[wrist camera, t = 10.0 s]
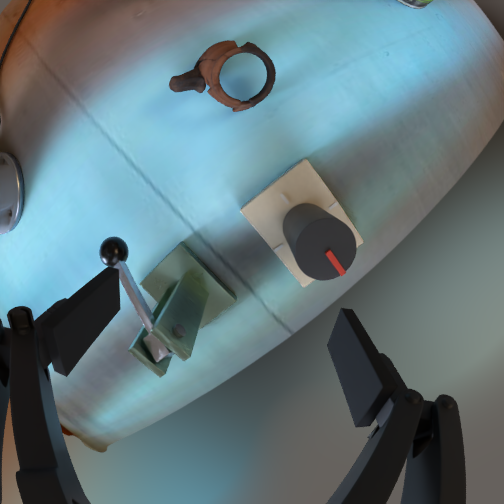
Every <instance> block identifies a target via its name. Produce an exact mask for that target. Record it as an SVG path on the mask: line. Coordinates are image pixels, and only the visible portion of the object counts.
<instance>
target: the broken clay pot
mask: <svg viewBox="0 0 504 504" xmlns="http://www.w3.org/2000/svg"><path fill="white" fill-rule="evenodd" d="M239 53H251V54H254V55H256V56H258V57H259V58H260V59H261V60H262V61H263V62H264V64H265V67H266V70H267V79H266V83H265V85H264V87H263V89H262V90H261V91H260V92H259V93H258V94H257V95H255V96H254V97H252V98H250V99H249V100H248V101H240V100H238V99H234V98H232V97H230V96H229V95H227V94H226V93H225V92H224V90H223V89H222V87H221V84H220V80H219V75H220V71H221V68H222V66H223V64H224V63H225V62H226V60H228V59H229V58H230V57H232V56H233V55H236V54H239ZM275 74H276V72H275V67H274V64H273V62H272V60H271V59H270V58H269V56H268V55H267V54H266V53H265V52H263V51H262V50H261V49H260V48H258V47H257V46H256V45H255V44H253V43H250V42H247V43H246V44H244V45H243V46H241V47H238V46H237V44H236V43H235V41H229V40H228V41H223V42H219V43H216V44H214V45H212V46H211V47H209V48H208V49H207V50H206V51H205V52H204V53H203V54H202V56H201V57H200V58H199V60H198V61H197V63H196V65H195V67H194V69H193V70H191V71H188V72H186V73H184V74H182V75H179V76H173V77H172V78H171V80H170V83H169V86H170V89H171V90H173V91H174V92H182V91H187V90H196V91H197V92H199V93H202V92H203V91H204V90H205V88H206V84H207V85H209V87H210V89H209V90H208V91H207V92H208V93H209V94H210V95H211V96H212V97H213V98H215V99H216V100H217V101H218V102H220V103H222V104H224V105H225V106H228V107H231V108H233V109H232V110H233V112H237V111H243V110H246V109H249V108H250V107H254V106H255V105H256V104H258V103H259V102H261V101H262V100H263V99H264V98H265V97H267V96H268V94H269V93H270V92H271V90H272V88H273V84H274V82H275Z"/></svg>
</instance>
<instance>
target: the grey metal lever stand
mask: <svg viewBox="0 0 504 504" xmlns="http://www.w3.org/2000/svg"><path fill="white" fill-rule="evenodd" d="M140 285H141V286H142V287H143V288H144V289H145V290H146V291H147V292H148V293H149V294H150V295H151V296H152V297H153V298H154V299H155V300H156V301H157V304H156V305H155V307H154V308H153V310H152V314H153V316H154V317H155V319H156V322H155V324H154V325H153V327H152V329H151V331H150V333H151V334H153V335H154V336H155V337H156V338H157V339H158V340H159V341H160V342H162V343H163V344H164V345H165V346H166V347H167V348H168V349H170V350H171V351H172V352H173V353H174V354H176V355H177V356H178V357H179V358H180V359H182V360H183V361H185V360H187V359H188V358H190V357H191V353H192V350H193V346H194V343H195V340H196V336H197V333H198V331H199V330H200V329H201V328H202V327H204V326H205V325H206V324H208V323H209V322H210V321H212V320H213V319H214V318H216V317H217V316H218V315H220V314H221V313H222V312H224V311H225V310H226V309H227V308H229V307H230V306H231V305H233V304H234V303H235V302H236V301H237V297H236V296H235V295H234V294H233V293H232V292H231V291H230V290H229V289H228V288H227V287H226V286H225V285H224V284H223V283H222V282H221V281H220V280H219V279H218V278H217V277H216V276H215V275H214V274H213V273H212V272H211V271H210V270H209V269H208V268H207V267H206V266H205V265H204V264H203V263H202V262H201V261H200V260H199V259H198V258H197V257H196V256H195V255H194V254H193V253H192V252H191V250H190V249H189V248H188V247H187V246H186V245H185V244H184V243H183V242H181V243H180V244H179V245H178V246H177V247H176V248H174V249H173V250H172V251H171V252H170V253H169V254H168V255H167V256H166V257H165V258H164V259H163V260H162V261H161V262H160V263H159V264H158V265H157V266H156V267H155V268H154V269H153V270H152V271H151V272H150V273H149V274H148V275H147V276H146V277H145V278H144V279H143V280H142V281H141V282H140ZM148 334H149V333H148V332H147V330H146V328H145V326H144V325H143V326H142V328H141V330H140V331H139V333H138V334H137V336H136V338H135V339H134V341H133V343H132V345H131V346H130V348H129V350H128V351H129V352H130V353H131V354H132V355H133V356H134V357H136V358H137V359H138V360H139V361H140V362H141V363H143V364H144V365H145V366H146V367H147V368H149V369H150V370H151V371H152V372H154V373H155V374H156V375H157V376H159V377H162V376H163V375H165V374H166V371H167V368H168V366H169V363H170V360H171V358H172V356H171V357H169V358H167V359H164V360H162V361H159V362H156V361H155V359H154V358H153V356H152V354H151V353H150V351H149V349H148V348H147V346H146V344H145V343H144V341H143V338H145V337H146V336H147V335H148Z"/></svg>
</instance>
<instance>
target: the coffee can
mask: <svg viewBox="0 0 504 504" xmlns="http://www.w3.org/2000/svg"><path fill="white" fill-rule="evenodd" d="M398 1H399V2H401V3H403V4H404V5H407V6H409V7H412V8H416V9H421V8H424V7H425V6H426V5H427V4H429V3H430V2H431V1H433V0H398Z"/></svg>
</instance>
